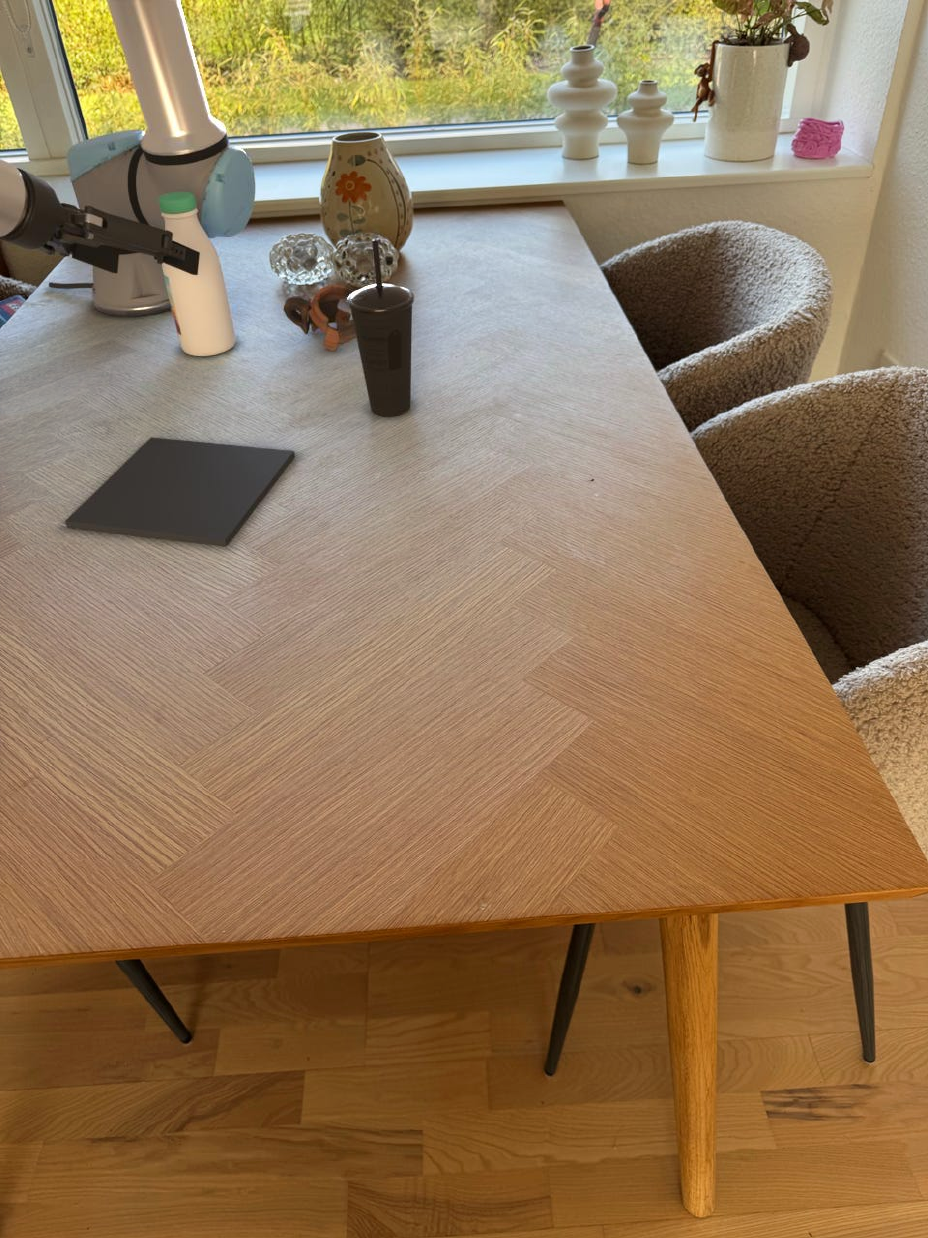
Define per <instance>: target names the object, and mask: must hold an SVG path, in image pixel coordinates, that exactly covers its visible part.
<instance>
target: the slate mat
mask: <svg viewBox="0 0 928 1238" xmlns="http://www.w3.org/2000/svg"><path fill="white" fill-rule="evenodd" d="M295 454H296V453H295V451H294V450H289V449H279V448H278V449H277V448H266V447H255V446H246V445H235V444H227V443H226V444H225V443H214V442H204V441H194V440H193V441H192V440H181V439H172V438H161V437H150V438H148V440H147V441H146V442H145V443H143V445H142V446H141V447H139V448H138V449H137V450H136V451H135V452H134V454H132V455H131V456H130V457H129V458H128V459H127V460H126V461H125V462H124V463H123V464H122V465H121V466H120V467H119V468H117V470H116V471H115V472H114V473H113V474H112V475H111V476H109V478H108V479H106V480H105V482H103V483H102V484H101V485H100V486H99V488H97V489H96V490H95V492H93V493H92V494H91V495H90V496H89V497H88V498H87V499H86V500H85V501H84V502H83V503H82V504H81V505H80V506H79V507H77V509H76V510H75V511H74V512H73V513H71V515H69V517H67V519H66V520H65V521H64V523H65V526H66V528H67V529H68V528H69V529H74V530H75V529H76V530H77V529H78V530H85V531H93V532H102V533H109V534H119V535H127V536H134V537H141V538H143V537H144V538H151V539H160V540H167V541H168V540H169V541H175V542H176V541H177V542H183V543H184V542H186V543H194V544H202V545H209V546H217V547H228V545H229V544H230V543H231V542H232V540H233V539H234V538H235V536H236V535H237V534H238V532H239V531H240V530H241V528H242V527H243V526H244V524H245V523H246V522H247V520H248V519H249V518H250V517H251V516H252V515H253V512H254V511H255V510H256V509H257V507H258V506H260V503H261V502H262V501H263V500H264V498H265V497H266V496H267V494H268V493H269V492H270V491H271V489H272V488H273V486H274V485H275V484H276V483H277V481H278V480H279V479H280V477H281V476H282V475H283V473H284V472H285V471H286V470H287V468H288V467H289V466H290V465H291V463H292V462H293V460H294V459H295V458H296V455H295Z"/></svg>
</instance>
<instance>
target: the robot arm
mask: <svg viewBox="0 0 928 1238" xmlns="http://www.w3.org/2000/svg"><path fill="white" fill-rule="evenodd" d="M106 2H107V6H108V10H109V13H110V15H111V18H112V22H113V25H114V28H115V30H116V34H117V37H118V40H119V43H120V46H121V50H122V52H123V57H124V59H125V62H126V65H127V68H128V72H129V75H130V79H131V81H132V84H133V87H134V91H135V94H136V98H137V100H138V103H139V106H140V110H141V113H142V116H143V119H144V122H145V126H146V131H144V130H142V129H141V130H140V129H128V130H123V131H122V130H121V131H116V132H111V133H107V134H103V135H99V136H94V137H92V138H88V139H85V140H81V141H79V142H77V143H75V144H73V145H72V146H70V147H69V148H68V150H67V152H66V163H67V167H68V171H69V175H70V178H69V181H70V183H71V185H72V189H73V192H74V195H75V199H76V201H77V202H76V203H77V205H78V207H77V206H76V205H75V204H70V203H65V202H61V201H60V200H59V197H58V195H57V191H56V190H55V189H54V186H53V185H52V184H51V183H49V182H48V181H47V180H46V179H44V178H41V177H39V176H37V175H35V174H33V173H30V172H28V171H26V170H24V169H21V168H19V167H15V166H14V164H12V163H10V162H7V161H5V160H3V159H1V158H0V240H1V241H4V242H7V243H9V244H12V245H15V246H18V247H21V248H24V249H27V250H37V249H38V250H39V251H41V252H43V253H45V254H47V256H55V255H56V252H57V254H58V255H59V256H61V257H64V258H66V257H70V255H71V259H74V260H76V261H79V262H82V263H84V264H87V265H90V266H92V282H74V283H73V282H71V283H57V282H48V287H49V288H51V289H60V290H73V289H74V290H75V289H91V297H92V300H93V304H94V306H95V309H96V310H98V312H101V313H102V314H106V315H110V316H117V317H138V316H140V317H141V316H148V315H154V314H158V313H163V312H167V311H169V310H172V309H171V305H170V301H169V296H168V292H167V288H166V283H165V279H164V274H163V269H162V264H163V263H165V264H167V265H170V266H172V267H175V268H177V269H180V270H182V271H185V272H187V273H189V274H192V275H198V267H199V257H200V252H198V251H196V250H193V249H191V248H189V247H187V246H184V245H182V244H180V243H178V242H175V241H173V233H172V232H170V231H168V230H165V219H164V217H163V216H162V215H161V214H162V212H161V210H160V207H159V202H158V198H159V197H160V196H162V195H164V194H167V193H171V192H190V193H193V194H194V196H195V199H196V204H197V210H198V212H197V218H198V220H199V223H200V225H201V227H202V229H203V230H204V232H205V234H206V235H207V237H208V238H209V239H215V238H231V237H232V238H233V237H235V236H237V235H238V234H240V233H242V231H243V230H244V229H245V228H246V226H247V224H248V223H249V221H250V218H251V216H252V212H253V210H254V205H255V199H256V177H255V176H256V175H255V170H254V166H253V165H254V164H253V162H252V159H251V158H250V156H249V154H247V153H246V151H245V150H244V149H242V148H239V147H237V146H236V145H235V146H234V145H233V146H231V144H230V140H229V136H228V133H227V129H226V127H225V125H224V123H222V122H221V121H220V120H218V119H216V118H215V117H213V116H212V115H211V113H210V108H209V105H208V101H207V98H206V94H205V90H204V85H203V83H202V78H201V75H200V71H199V68H198V64H197V59H196V57H195V53H194V49H193V46H192V45H193V44H192V41H191V38H190V34H189V31H188V26H187V23H186V19H185V15H184V11H183V8H182V4H181V0H106Z"/></svg>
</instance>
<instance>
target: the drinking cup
mask: <svg viewBox="0 0 928 1238" xmlns="http://www.w3.org/2000/svg"><path fill="white" fill-rule="evenodd" d="M371 245H372V246H371V247H372V255H373V256H372V257H373V265H374V276H375V283H373V284H370V285H366V286H364V287H362V288H359V289H358V290H357V289H356V291H355V292H353V293H352V294H350V295H347V296H348V297H347V298H346V305H347V307H348V308H349V309H350V314H351V318H352V319H351V320H353V323H354V328H355V333H356V338H355V339H356V342H357V347H358V352H359V356H360V361H361V367H362V373H363V376H364V382H365V386H366V391H367V395H368V400H369V401H368V402H369V406H370V410H371V412H372V413H373V414H375V415H376V416H380V417H385V418H387V417H391V418H392V417H397V416H401V415H404V414H406V413H407V412H408V411H409V410H410V409H411V391H412V390H411V389H412V388H411V387H412V335H413V334H412V333H413V332H412V330H413V327H412V326H413V304H414V302H415V295H414V293H413V291H411V290H410V289H408V288H406V287H403V286H399V285H396V284H392V283H383V279H382V269H381V267H382V266H381V257H380V256H381V255H380V246H379V238H372V239H371Z"/></svg>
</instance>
